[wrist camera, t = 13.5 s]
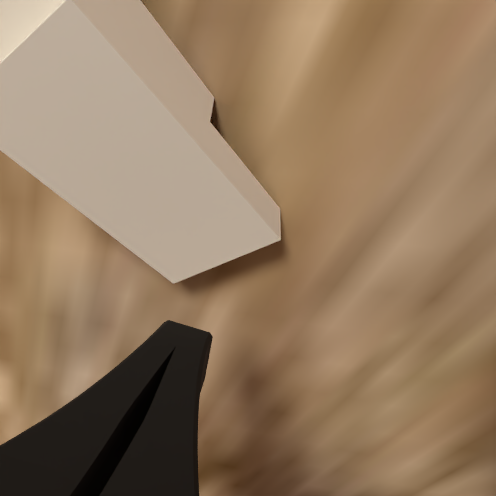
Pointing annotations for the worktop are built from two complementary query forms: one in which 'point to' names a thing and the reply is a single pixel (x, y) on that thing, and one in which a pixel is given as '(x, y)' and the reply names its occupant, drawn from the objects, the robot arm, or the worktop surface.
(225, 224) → the domino
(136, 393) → the robot arm
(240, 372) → the worktop surface
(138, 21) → the domino
